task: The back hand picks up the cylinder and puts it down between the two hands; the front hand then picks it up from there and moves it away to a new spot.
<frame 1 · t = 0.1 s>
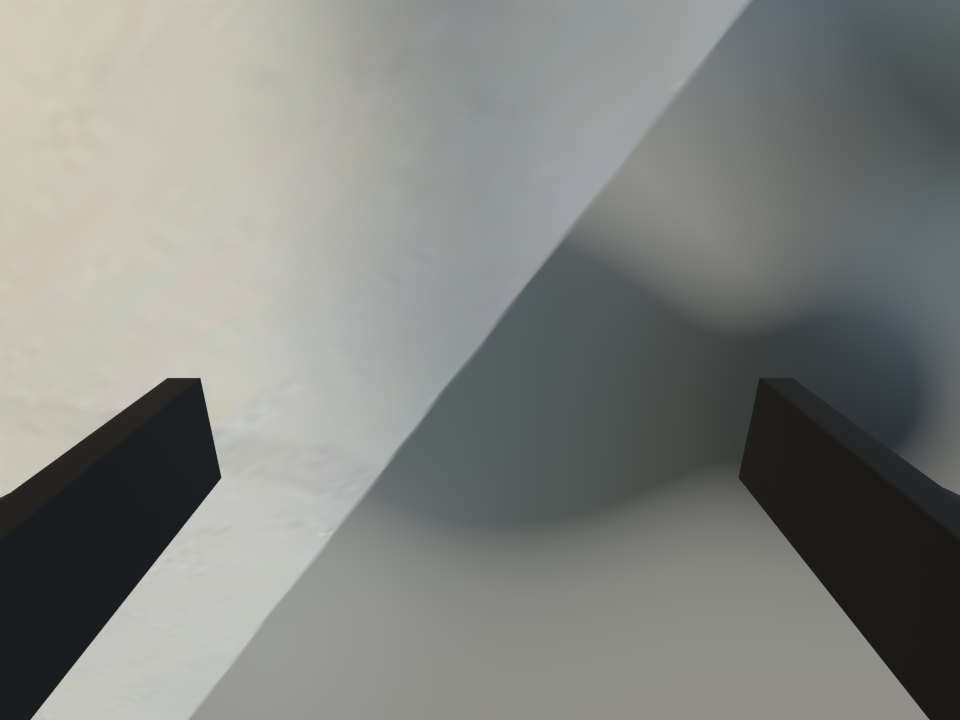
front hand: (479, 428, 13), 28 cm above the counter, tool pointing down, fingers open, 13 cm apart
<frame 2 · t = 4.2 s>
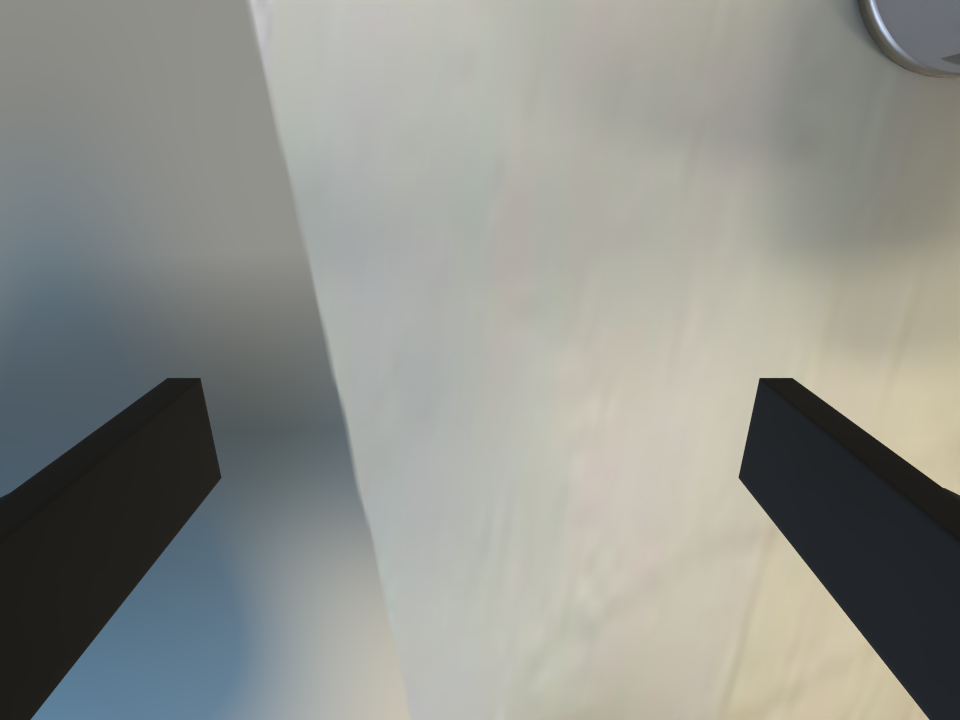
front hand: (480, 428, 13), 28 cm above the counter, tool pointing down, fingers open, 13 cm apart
when the back hand's fingers open (5 cm above the counter, at t = 8.4 s): cylinder drops 1 cm, on the counter.
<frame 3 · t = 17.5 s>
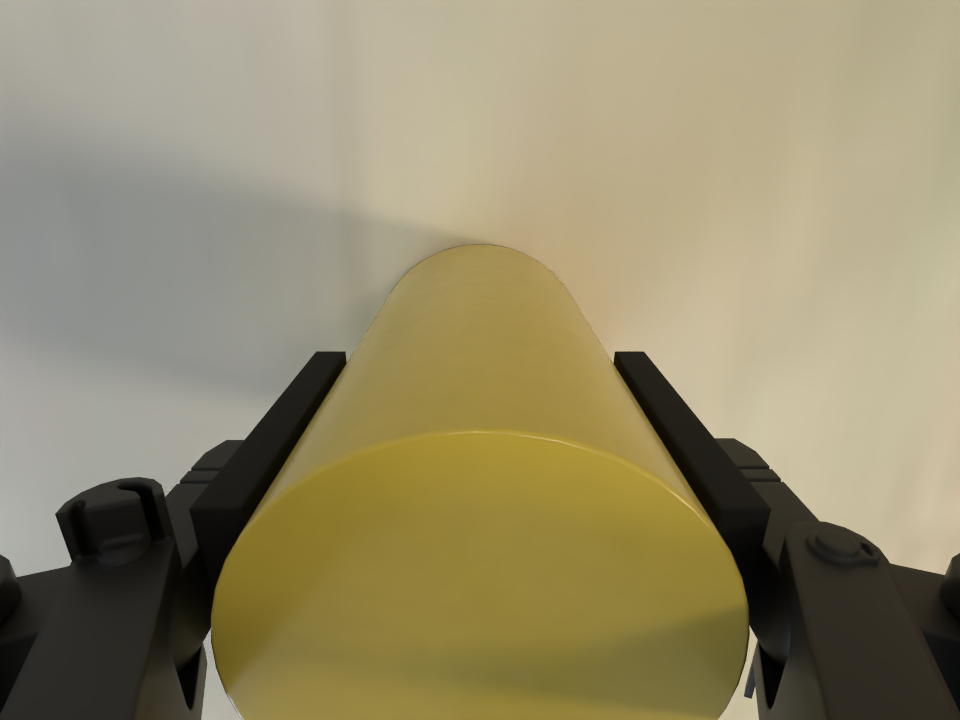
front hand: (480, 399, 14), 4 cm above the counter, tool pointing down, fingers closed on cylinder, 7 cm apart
cylinder: (479, 347, 18), on the counter, touching front hand
when the front hand's fingers open (5 cm above the counter, at t = 28.7 s): cylinder drops 1 cm, on the counter.
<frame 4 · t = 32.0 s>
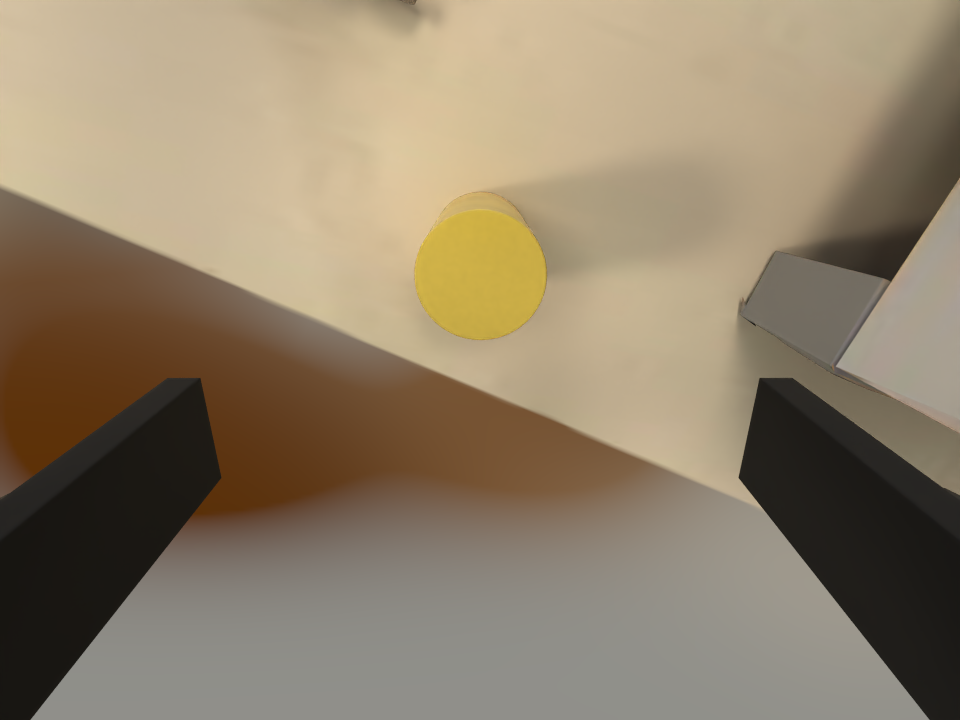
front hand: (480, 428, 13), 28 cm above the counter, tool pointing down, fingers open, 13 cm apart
cylinder: (480, 241, 39), on the counter
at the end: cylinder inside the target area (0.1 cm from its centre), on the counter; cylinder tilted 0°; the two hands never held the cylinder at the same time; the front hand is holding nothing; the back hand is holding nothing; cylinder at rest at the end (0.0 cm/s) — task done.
